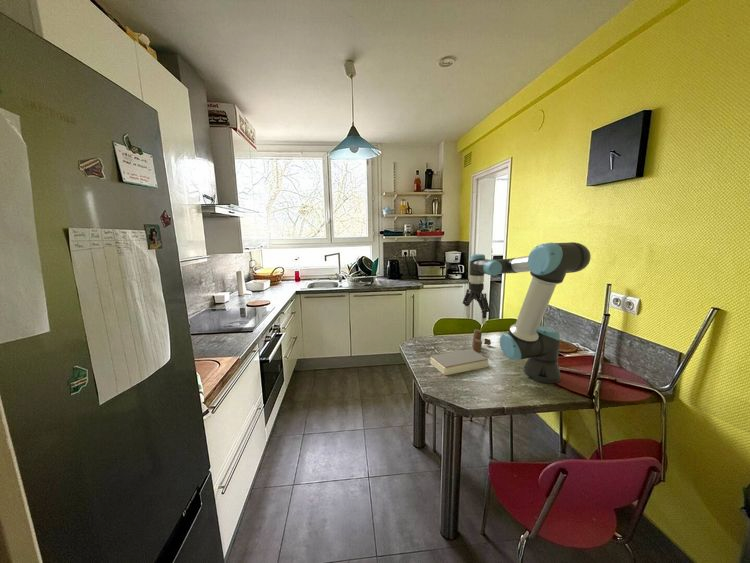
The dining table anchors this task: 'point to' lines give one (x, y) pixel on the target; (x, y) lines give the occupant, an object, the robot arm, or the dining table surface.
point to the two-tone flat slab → (458, 361)
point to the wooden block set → (478, 341)
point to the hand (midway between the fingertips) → (474, 320)
